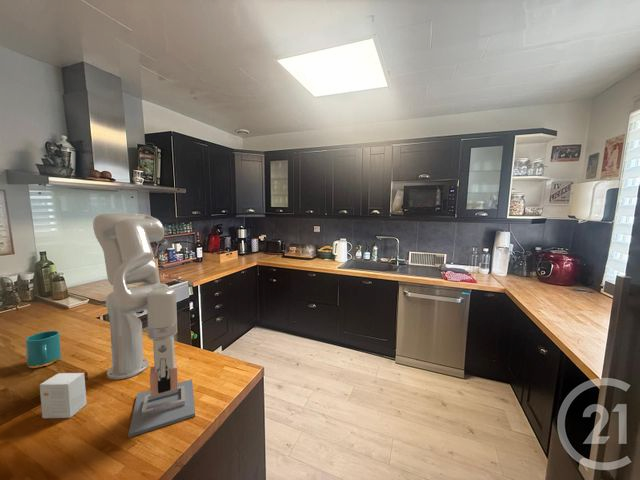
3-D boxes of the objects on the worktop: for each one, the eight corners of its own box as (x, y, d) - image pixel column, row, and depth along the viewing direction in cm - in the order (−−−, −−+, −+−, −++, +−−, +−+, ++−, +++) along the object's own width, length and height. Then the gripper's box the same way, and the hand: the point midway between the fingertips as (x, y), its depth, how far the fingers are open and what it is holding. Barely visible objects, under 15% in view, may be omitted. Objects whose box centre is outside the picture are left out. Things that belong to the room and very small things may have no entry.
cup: (27, 376, 92) (25, 346, 91) (27, 363, 100) (25, 335, 99) (62, 365, 99) (60, 337, 98) (60, 354, 107) (58, 328, 106)
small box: (87, 404, 79) (85, 372, 78) (70, 418, 73) (68, 384, 73) (60, 404, 79) (58, 372, 78) (41, 418, 73) (39, 384, 72)
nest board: (137, 396, 83) (137, 388, 83) (192, 381, 91) (192, 375, 91) (128, 437, 67) (127, 429, 67) (195, 416, 75) (194, 408, 75)
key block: (177, 382, 82) (177, 361, 82) (177, 389, 79) (177, 367, 78) (151, 388, 79) (151, 367, 78) (150, 396, 75) (149, 374, 75)
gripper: (177, 338, 72) (178, 399, 73) (177, 318, 86) (178, 369, 88) (144, 344, 68) (147, 408, 69) (150, 322, 83) (152, 375, 84)
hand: (164, 386), depth 79 cm, fingers closed on key block, 4 cm apart
